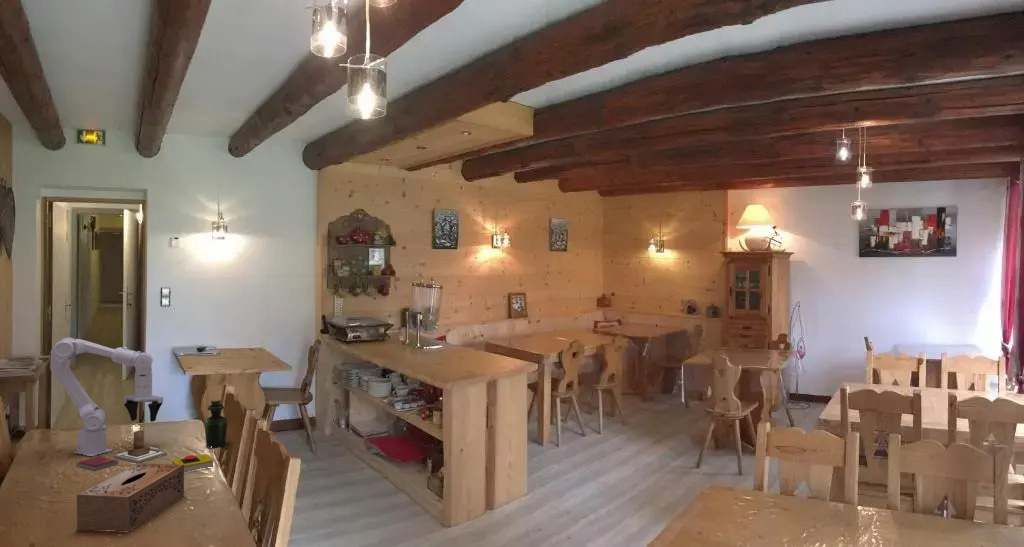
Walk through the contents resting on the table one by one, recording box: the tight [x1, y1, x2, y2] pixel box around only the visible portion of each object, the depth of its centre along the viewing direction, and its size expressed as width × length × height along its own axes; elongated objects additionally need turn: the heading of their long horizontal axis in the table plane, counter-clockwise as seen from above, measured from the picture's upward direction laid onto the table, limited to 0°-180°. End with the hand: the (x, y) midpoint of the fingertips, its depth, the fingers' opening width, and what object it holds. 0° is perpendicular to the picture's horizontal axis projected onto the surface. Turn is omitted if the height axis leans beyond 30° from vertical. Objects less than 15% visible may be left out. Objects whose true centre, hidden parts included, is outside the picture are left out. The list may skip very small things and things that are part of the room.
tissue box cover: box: [76, 462, 185, 532], centre depth 182 cm, size 26×14×10 cm, turn 176°
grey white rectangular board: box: [112, 446, 168, 464], centre depth 230 cm, size 14×11×2 cm
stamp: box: [127, 430, 151, 457], centre depth 230 cm, size 5×5×8 cm
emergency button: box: [171, 453, 219, 472], centre depth 220 cm, size 9×4×15 cm
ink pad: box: [75, 455, 119, 471], centre depth 220 cm, size 10×8×2 cm
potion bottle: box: [204, 398, 228, 449], centre depth 243 cm, size 8×8×18 cm
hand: (143, 420), depth 240 cm, fingers open, 7 cm apart
